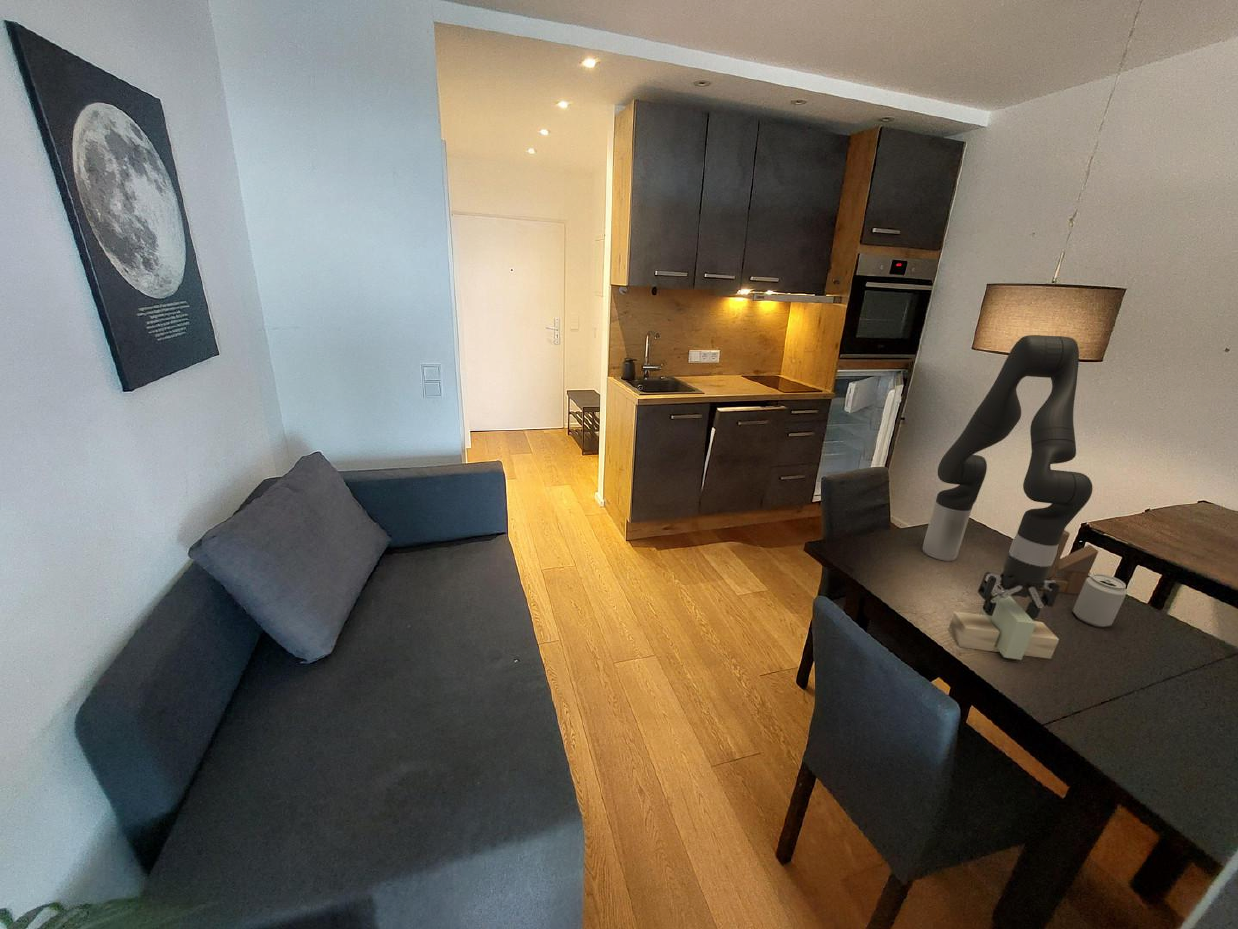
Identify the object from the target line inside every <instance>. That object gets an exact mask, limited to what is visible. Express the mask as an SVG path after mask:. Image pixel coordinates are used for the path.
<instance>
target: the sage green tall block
mask: <svg viewBox="0 0 1238 929" xmlns="http://www.w3.org/2000/svg"><path fill="white" fill-rule="evenodd" d="M1001 591H1002V592H1004V591H1005V590H1003V589H1001ZM995 595H996V594H995ZM995 595H994V596H995ZM996 603H997V604H996V607H995V610H994V612H993V615H992V616H988V615H987V614H986V613H985V611H984V610H983V607H982V608H981V611H980V614H979V615H986V616H987V617H988V618H989V620H990V621H991V622H992V623H993V625H994V626H995V627H996V628H997V629H998V631H999V632H1000V633H999V636H998V638H997V641H996V644H995V646H996V647H997V649H998V650H999V651H1000V652H999V653H1000V654H1001V655H1002V657H1003V658H1007V659H1013V660H1021V661H1022V659H1023V656H1025V655H1024V652H1025V650H1026V647H1027V645H1028V642H1029V640H1030V637H1031V635H1032V633H1033V630H1034V628H1035V625H1036V623H1035V622H1034V621H1035V620H1034V621H1033V620H1032V619H1031V618H1030V617H1029V616H1028V614H1027V613H1026V610H1024V609H1023V608H1022V606H1020V605H1019V603H1018V602H1017V601H1015V599H1014V598H1013V596H1011V595H1010V596H1008V597H1007V598H1002V599H1000V600H999V601H997V602H996Z"/></svg>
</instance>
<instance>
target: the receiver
mask: <svg viewBox="0 0 1238 929" xmlns="http://www.w3.org/2000/svg"><path fill="white" fill-rule="evenodd" d="M1034 622H1035V623H1036V625H1035V628H1034V630H1033V633H1032V635H1031V637H1030V640H1029V642H1028V645H1027V647H1026V650H1025V652H1024V655H1023V656H1025V657H1026V656H1028V657H1035V658H1041V659H1042V658H1043V659H1052V657H1053V655H1054V652H1055V650H1056V648H1057V646H1058V643H1059V641H1060V638H1058V637H1057V635H1056V634H1055V633H1053V632H1052V631H1051V629H1050V628H1049V627H1047V625H1046V624H1045V623H1044V622H1042V621H1036V620H1034ZM947 631H948V632H949V633H950V635H951V636H952V638H953V639H954V641H955V642H956V644H957V645H958V647H959V648H965V649H971V650H981V651H986V652H987V651H988V652H995V653H996V652H997V653H1000V651H999V650H998V649H997V647H996V646H995V644H996V641H997V638H998V636H999V633H1000V632H999V631H998V629H997V628H996V627H995V626H994V625H993V623H992V622H991V621H990V620H989V618H988V617H987V616H986V615H980V614H978V613H977V614H975V613H968V612H959V611H953V614H952V617H951V619H950V624H949V626H948V630H947Z"/></svg>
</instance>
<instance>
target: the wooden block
mask: <svg viewBox="0 0 1238 929" xmlns="http://www.w3.org/2000/svg"><path fill="white" fill-rule="evenodd" d="M1070 534H1071V533H1070V532H1069V531H1067V530H1065V529H1064V532H1063V535H1062V537H1061V540H1060V542H1059V545H1058V549H1057V554H1056V557H1055V559H1054V561H1053V564H1052V567H1051V569H1050V572H1049V574H1048V577H1047V579H1048V578H1051V579H1053V580H1054V581H1055V582H1056V583H1057V584H1058V585H1059V586H1060V587H1059V590H1058V593H1061V594H1063V593H1064V594H1069V595H1075V596H1079V594H1080V592H1081V590H1082V587H1083V585H1084V583H1085V580H1086V579H1087V578H1088V576H1089V574H1090V573H1091V569H1092V568H1093V565H1094V563H1095V561H1096V559H1097V555H1098V554H1099V550H1097V548H1095V547H1094V546H1092V544H1088V545H1087V546H1084V547H1082V548H1080V549H1078V550H1076V551H1073V552H1072V553H1069V554H1067V555H1065V556H1063V557H1062V555H1063V552H1064V550H1065V547H1066V545H1067V543H1068V540H1069V537H1070ZM1056 569H1058V570H1060V571H1063V572H1062V575H1061V576H1059V575H1056V574H1055V572H1056ZM1047 579H1046V580H1047ZM1043 589H1044V587H1043V588H1041V589H1040V591H1043Z"/></svg>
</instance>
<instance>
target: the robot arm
mask: <svg viewBox="0 0 1238 929" xmlns="http://www.w3.org/2000/svg"><path fill="white" fill-rule="evenodd" d="M1079 351H1080V348H1079V346H1078V342H1077V341H1076V340H1075V339H1074V338H1073V337H1071V336H1063V335H1062V336H1061V335H1060V336H1059V335H1040V334H1028V335H1025V336H1022V337H1021V338H1020V339H1018V340H1017V341H1016V343H1015V344H1014V345H1013V346H1012V349H1010V352H1009V353H1008V355H1007V357H1006V360H1004V363H1003V365H1002V367H1001V370H1000V371H999V373H998V375H997V378H996V379H995V380H994V382H993V384H992V386H991V388H990V390H989V391H987V394H986V396H985V397H984V399H983V400H982V401H981V403H980V404H979V406H978V407H977V408H976V410H975V412H974V413H973V414H972V416H971V418H970V420H969V421H968V423H967V425H966V426H965V428H963V431H962V433H961V434H960V435H959V437H958V438H957V439H956V440H955V442H954V443H953V444H952V445H951V446H950V448H949V449H948V450H947V451H946V452H945V454H944V455H943V456H942V457H941V460H940V461H939V464H938V466H937V477H938V479H939V480H940V481H941V482H942V483H946V484H950V485H951V484H952V485H956V486H955V487H952V488H947V489H944V490H941V491H939V492H938V493H937V496H936V498H935V503H934V506H933V510H932V514H931V518H930V519H929V521H928V527H927V529H926V533H925V537H924V539H923V540H924V541H923V543H922V548H921V549H922V551H923V553H924V554H926V555H927V556H929V557H931V558H934V559H935V560H936V559H937V560H940V561H946V562H950V561H951V562H953V561H955V560H956V559H957V558H958V554H959V551H960V548H961V544H962V542H963V538H964V535H965V531H966V528H967V526H968V522H969V519H970V515H971V512H972V509H973V506H974V504H975V503H976V501H977V500H978V499H977V498H978V496H979V493H980V490H981V488H982V487H983V483H984V481H985V478H986V474H987V470H988V464H987V460H986V459H985V457H984V456H982V455H977V453H978V452H980V451H981V452H982V451H983V450H985V449H987V448H990V447H992V446H995V445H996V444H998V443H1000V442H1001V441H1003V440H1005V439H1006V438H1007V437H1008V436H1009V435H1010V433H1012V431H1013V430H1014V428H1015V427H1016V426H1017V424H1018V423H1019V422H1020V420H1021V417H1022V407H1021V403H1020V400H1019V397H1018V393H1017V389H1018V388H1017V387H1018V386H1019V383H1020V382H1022V380H1023V379H1024V378H1025V377H1029V378H1030V377H1033V378H1047V379H1048V378H1050V379H1051V392H1050V394H1049V395H1048V397H1047V399H1046V400H1045V401H1044V403H1043V404H1042V405H1041V407H1039V409H1038V410H1037V411H1036V413H1035V414H1034V416H1033V419H1032V420H1031V423H1030V426H1029V427H1030V430H1029V431H1030V433H1029V434H1030V435H1029V436H1030V445H1031V448H1030V449H1031V454H1030V459H1029V464H1028V467H1027V472H1026V474H1025V477H1024V479H1023V484H1022V487H1023V488H1022V489H1023V492H1024V494H1025V495H1026V497H1027V498H1028V499H1029V500H1030V501H1033V502H1037V503H1044V504H1050V505H1048V506H1045V507H1040V508H1031V509H1027V510H1026V511H1025V512H1024V514H1023V515H1022V518H1021V521H1020V524H1019V526H1018V529H1017V532H1016V534H1015V536H1014V538H1013V540H1012V541H1011V544H1010V546H1009V550H1008V553H1007V555H1006V558H1005V562H1004V564H1003V571H1002V573H1001V574H992V573H991V572H990V571H987V572H985V574H984V575H983V577H982V580H981V582H980V585H979V587H978V589H977V593H978V595H979V596H981V598H982V599H983V600H984V602H983V604H982V608H983V610H984V611H985V613H986V614H987V615H988V616H992V615H993V612H994V610H995V607H996V604H997V603H996V602H997V601H999V600H1000V599H1002V598H1007V597H1008V596H1011V597H1021V598H1027V597H1028V598H1029V600H1030V601H1029V603H1028V604H1027V607H1026V610H1025V612H1026V613H1027V614H1028V616H1029V617H1030V618H1031V619H1032V620H1033V621H1035V619H1037V618H1038V616H1039V614H1040V612H1041V609H1043V608H1044V607H1048V608H1050V607H1051V608H1052V607H1054V605H1055V602H1056V600H1057V596H1058V593H1059V592H1058V590H1059V587H1060V586H1059V585H1058V584H1057V583H1056V582H1055V581H1054V580H1053V579H1051V578H1048V579H1047V577H1048V574H1049V572H1050V569H1051V567H1052V564H1053V561H1054V559H1055V557H1056V554H1057V549H1058V545H1059V542H1060V540H1061V537H1062V535H1063V532H1064V530H1065V529H1066V527H1068V525H1070V523H1071V521H1073V519H1074V518H1075V517H1076V515H1078V514H1079V513H1080V511H1082V509H1083V508H1084V507H1085V506H1086V505H1087V503H1089V500H1090V499H1091V497H1092V494H1093V488H1094V487H1093V483H1092V480H1091V479H1090V477H1088V476H1087V475H1086V474H1085V473H1082V472H1077V471H1070V470H1069V471H1067V470H1060V469H1059V470H1057V469H1051V465H1057V464H1064V463H1067V462H1071V461H1072V460H1073V459H1074V458H1076V456H1077V446H1076V445H1077V444H1076V443H1077V442H1076V436H1075V426H1074V425H1075V424H1074V423H1075V422H1074V408H1075V398H1076V390H1077V383H1078V373H1079V372H1078V371H1079V366H1080V365H1079V363H1080V352H1079ZM1046 579H1047V580H1046ZM1043 587H1044V589H1043V590H1042V593H1041V596H1040V595H1039V593H1038V591H1039V590H1040V589H1041V588H1043ZM1001 590H1002V591H1004V592H1002V591H1001ZM1040 591H1041V590H1040ZM995 594H996V595H995ZM994 595H995V596H994Z"/></svg>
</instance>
